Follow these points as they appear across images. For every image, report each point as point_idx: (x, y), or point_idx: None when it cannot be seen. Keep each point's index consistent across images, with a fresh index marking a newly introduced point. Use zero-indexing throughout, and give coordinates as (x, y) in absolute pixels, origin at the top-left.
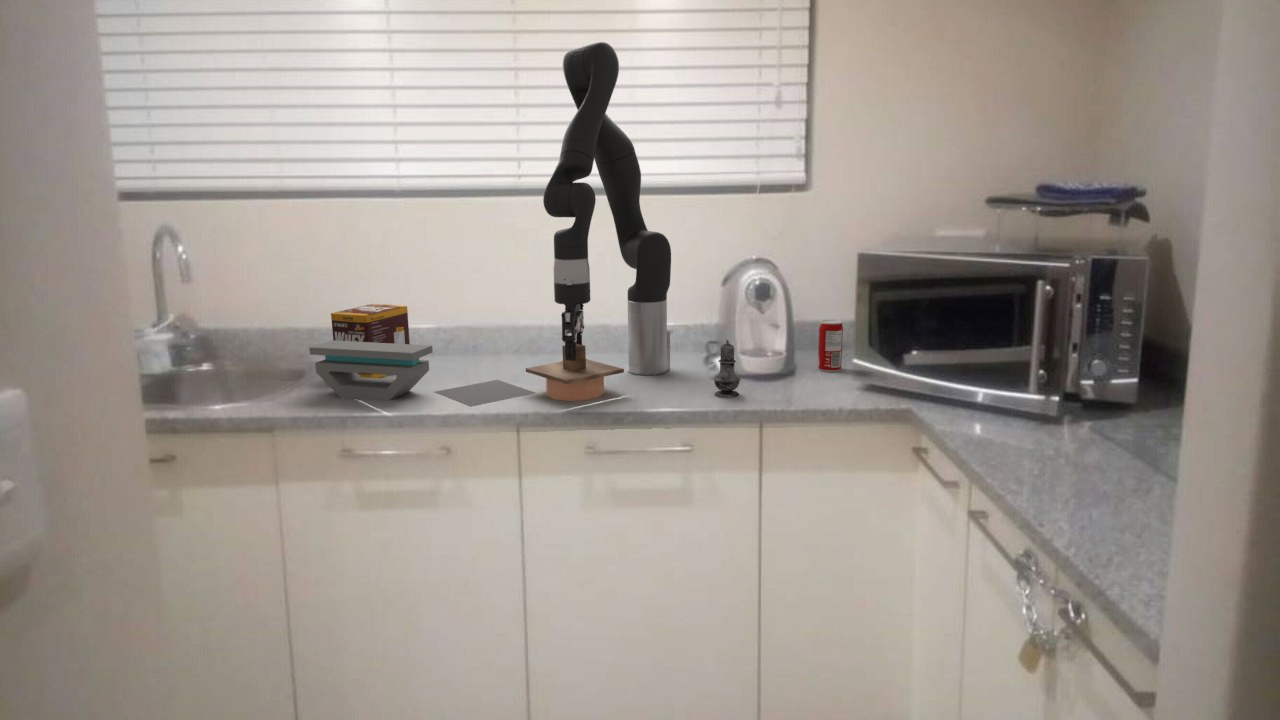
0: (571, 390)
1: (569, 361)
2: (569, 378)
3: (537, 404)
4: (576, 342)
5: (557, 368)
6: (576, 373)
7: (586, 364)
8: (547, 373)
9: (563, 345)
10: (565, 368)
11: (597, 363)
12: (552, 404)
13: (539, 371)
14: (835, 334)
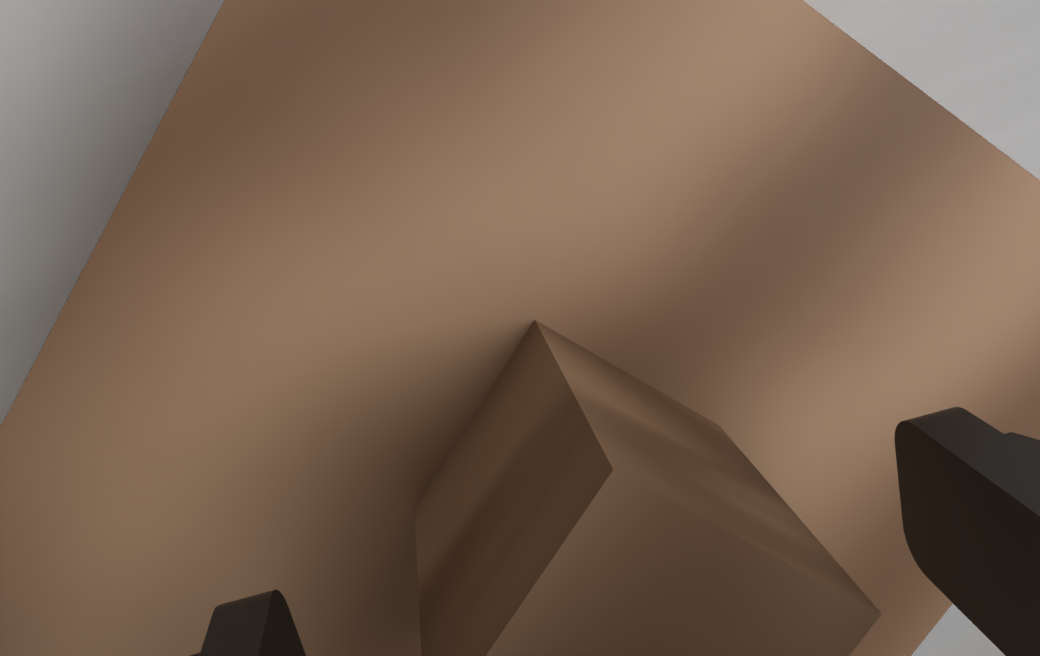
0: None
1: (457, 514)
2: (8, 635)
3: (37, 126)
4: (1003, 569)
5: (514, 242)
6: (307, 601)
7: (821, 512)
8: (163, 233)
9: (625, 489)
10: (501, 374)
11: (895, 607)
12: None
13: (238, 52)
14: None
